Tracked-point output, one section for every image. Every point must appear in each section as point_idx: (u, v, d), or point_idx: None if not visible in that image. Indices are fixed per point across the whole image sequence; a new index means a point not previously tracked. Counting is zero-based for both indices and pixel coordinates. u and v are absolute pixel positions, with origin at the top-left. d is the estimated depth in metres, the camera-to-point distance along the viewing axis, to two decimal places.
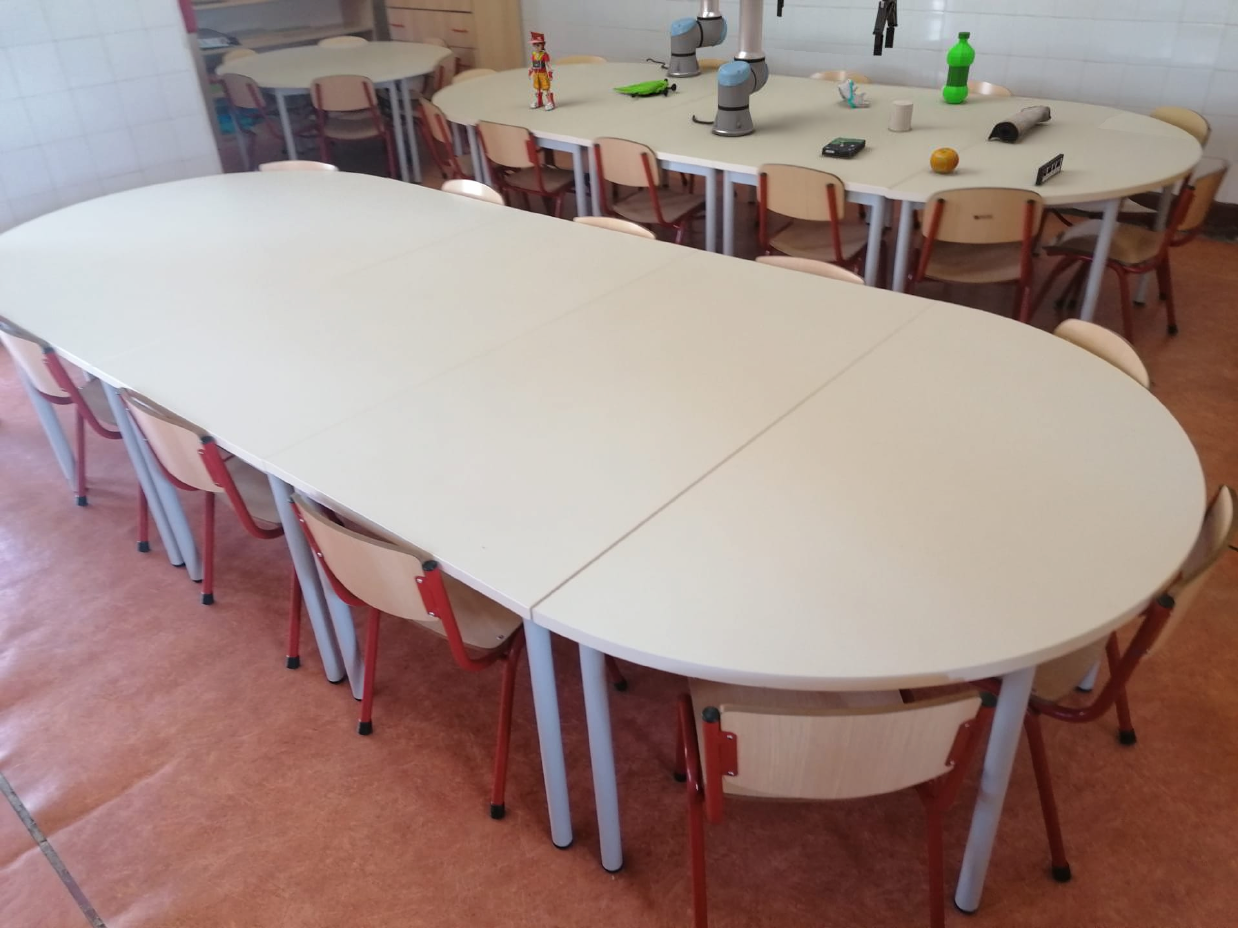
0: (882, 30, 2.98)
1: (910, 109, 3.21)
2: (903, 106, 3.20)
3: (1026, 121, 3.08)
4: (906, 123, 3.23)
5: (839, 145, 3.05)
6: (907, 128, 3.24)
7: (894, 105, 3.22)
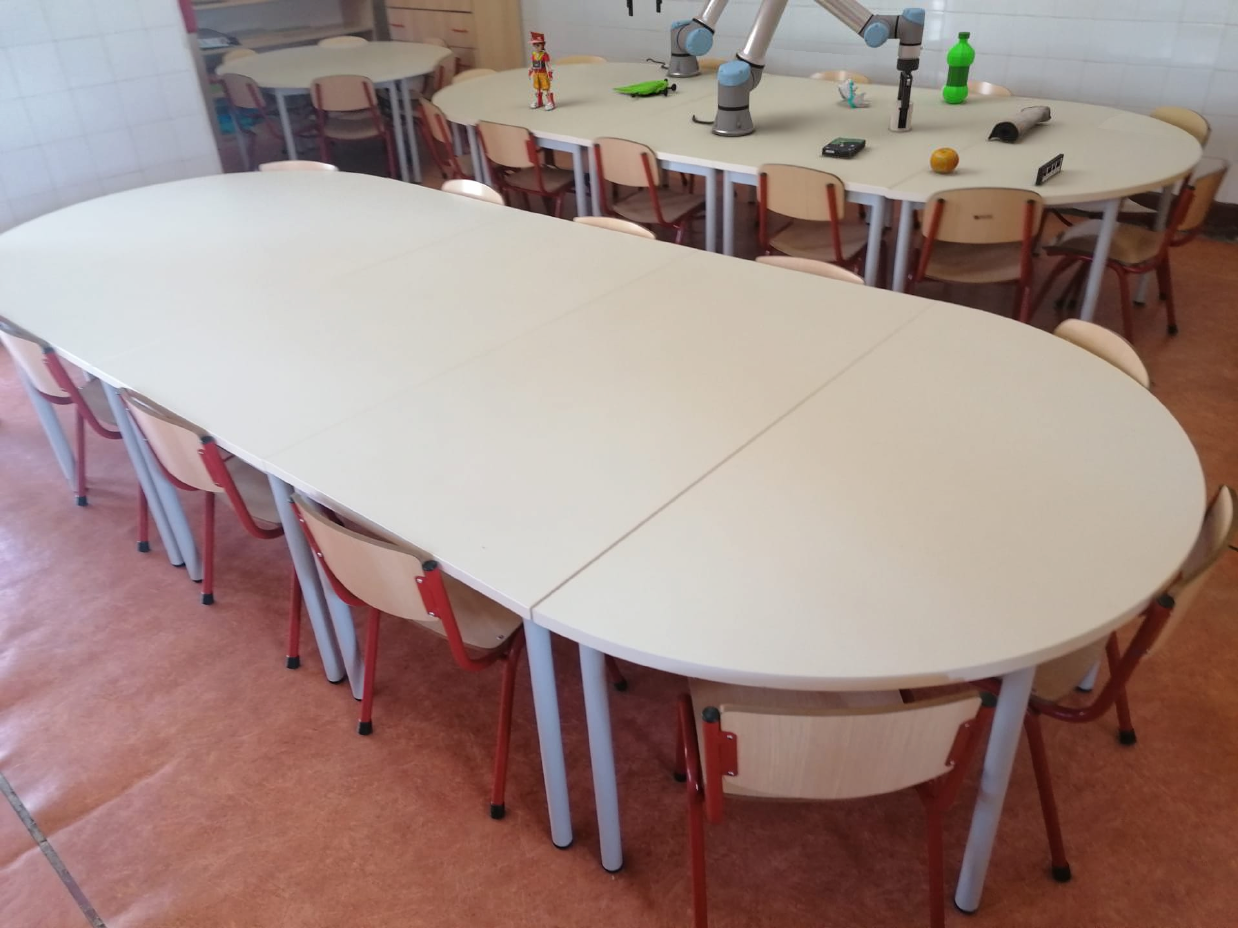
0: None
1: (910, 109, 3.21)
2: None
3: (1026, 121, 3.08)
4: (906, 123, 3.23)
5: (839, 145, 3.05)
6: (907, 128, 3.24)
7: (894, 105, 3.22)
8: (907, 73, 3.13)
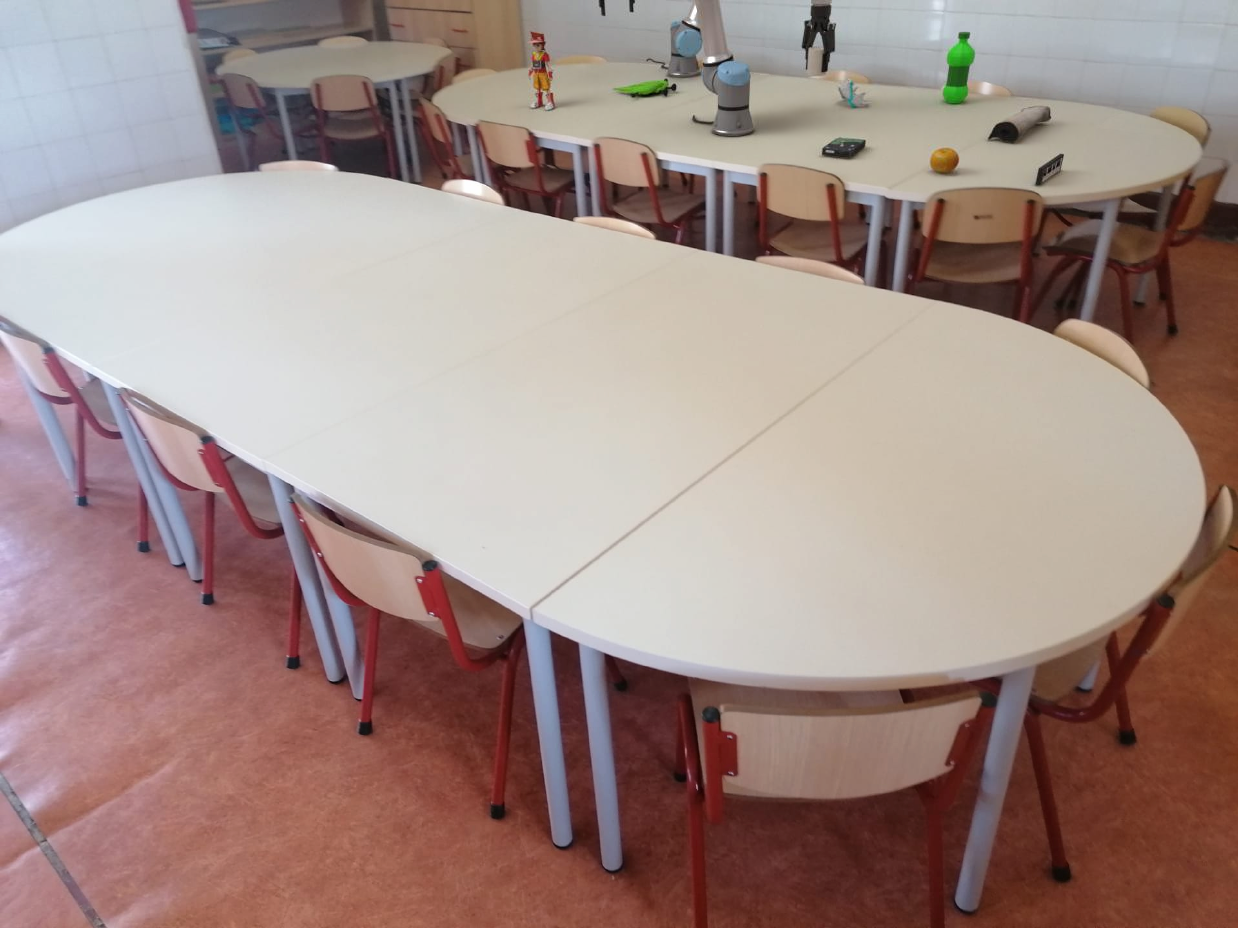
0: None
1: None
2: None
3: (1026, 121, 3.08)
4: None
5: (839, 145, 3.05)
6: None
7: (815, 51, 3.39)
8: (827, 18, 3.32)
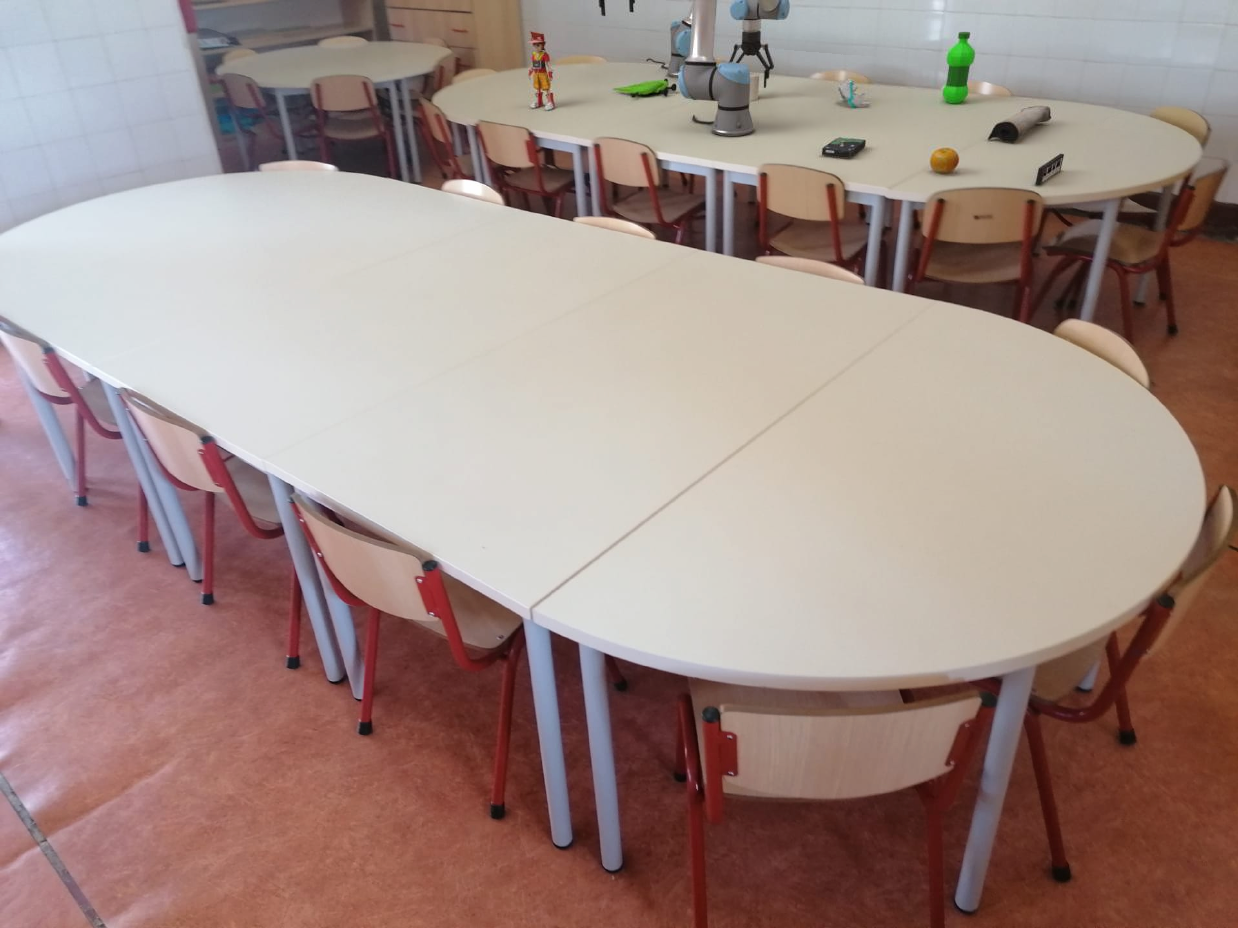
0: (768, 66, 3.69)
1: None
2: (758, 76, 3.71)
3: (1026, 121, 3.08)
4: None
5: (839, 145, 3.05)
6: None
7: (753, 78, 3.69)
8: (760, 42, 3.64)
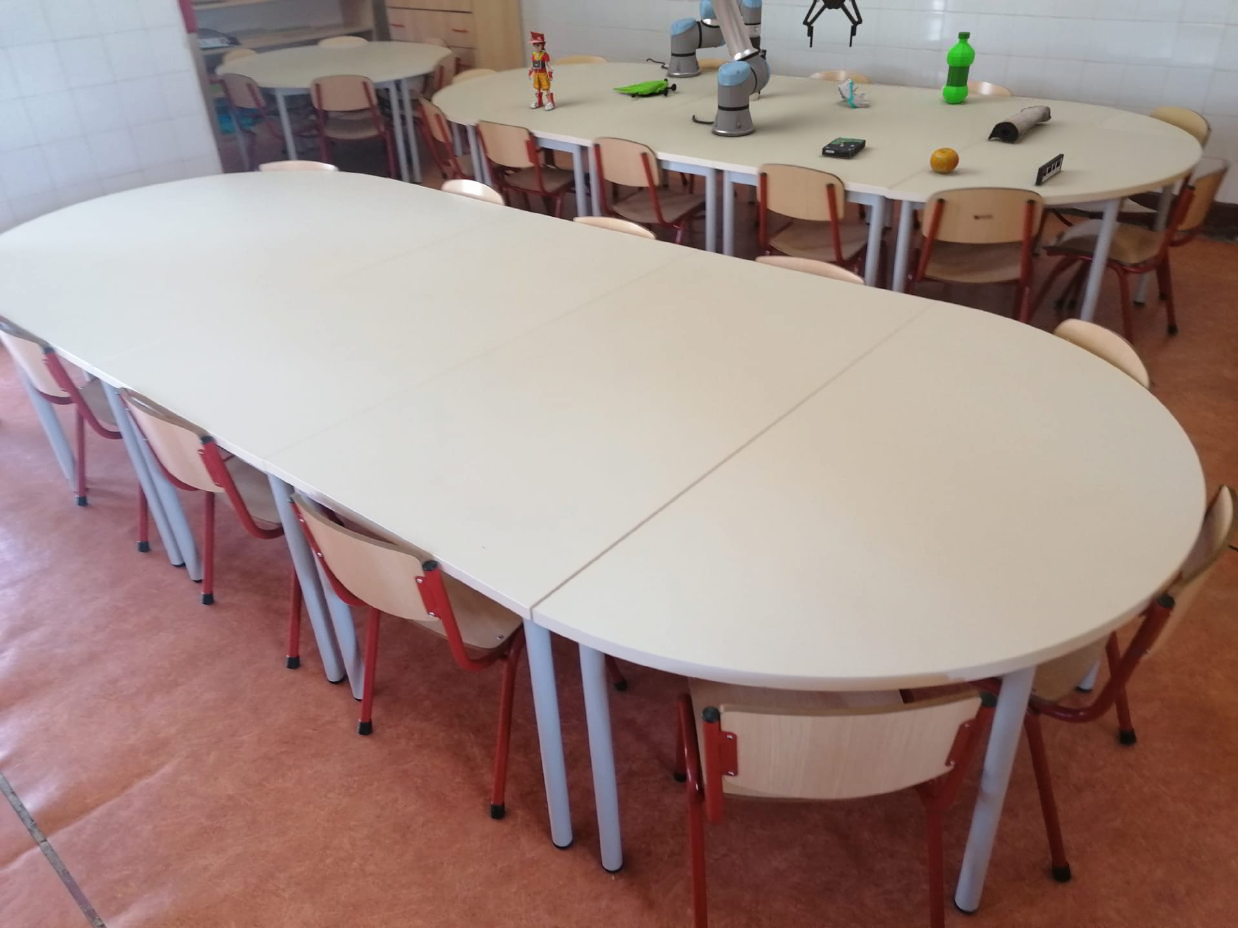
0: (855, 20, 3.09)
1: None
2: None
3: (1026, 121, 3.08)
4: None
5: (839, 145, 3.05)
6: None
7: None
8: None
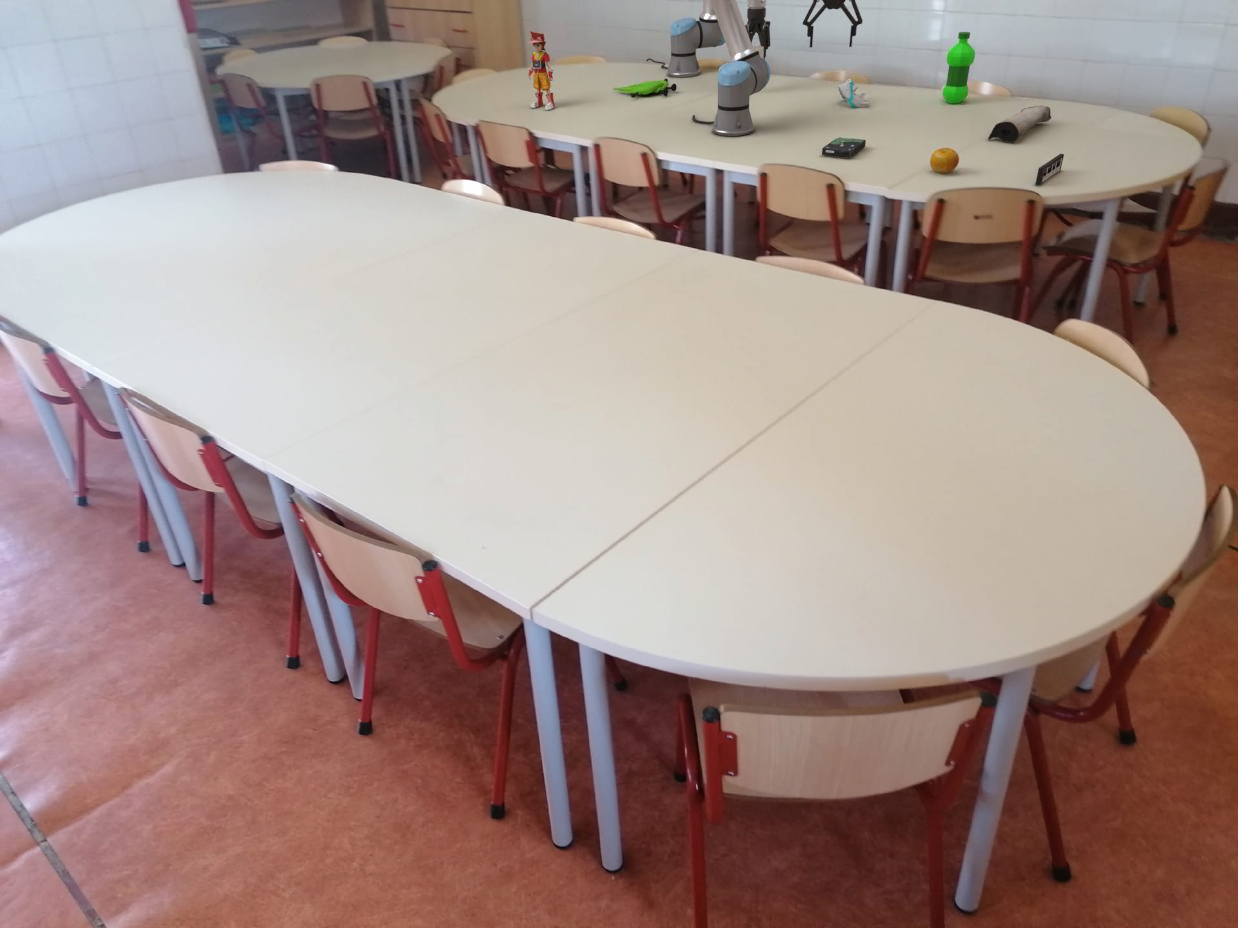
0: (855, 20, 3.09)
1: None
2: (763, 48, 3.75)
3: (1026, 121, 3.08)
4: None
5: (839, 145, 3.05)
6: None
7: (759, 50, 3.72)
8: None
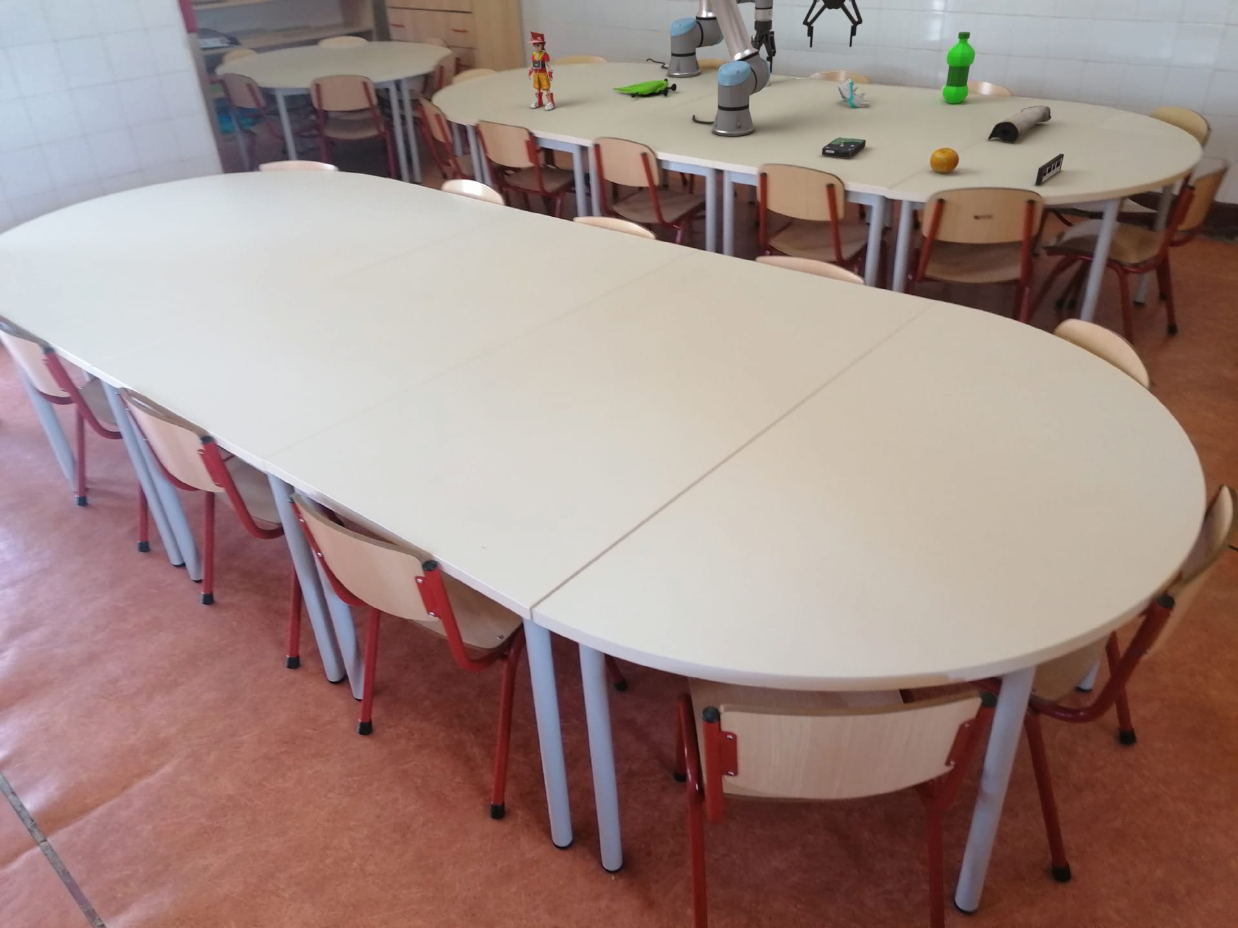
0: (855, 20, 3.09)
1: None
2: None
3: (1026, 121, 3.08)
4: None
5: (839, 145, 3.05)
6: None
7: None
8: None
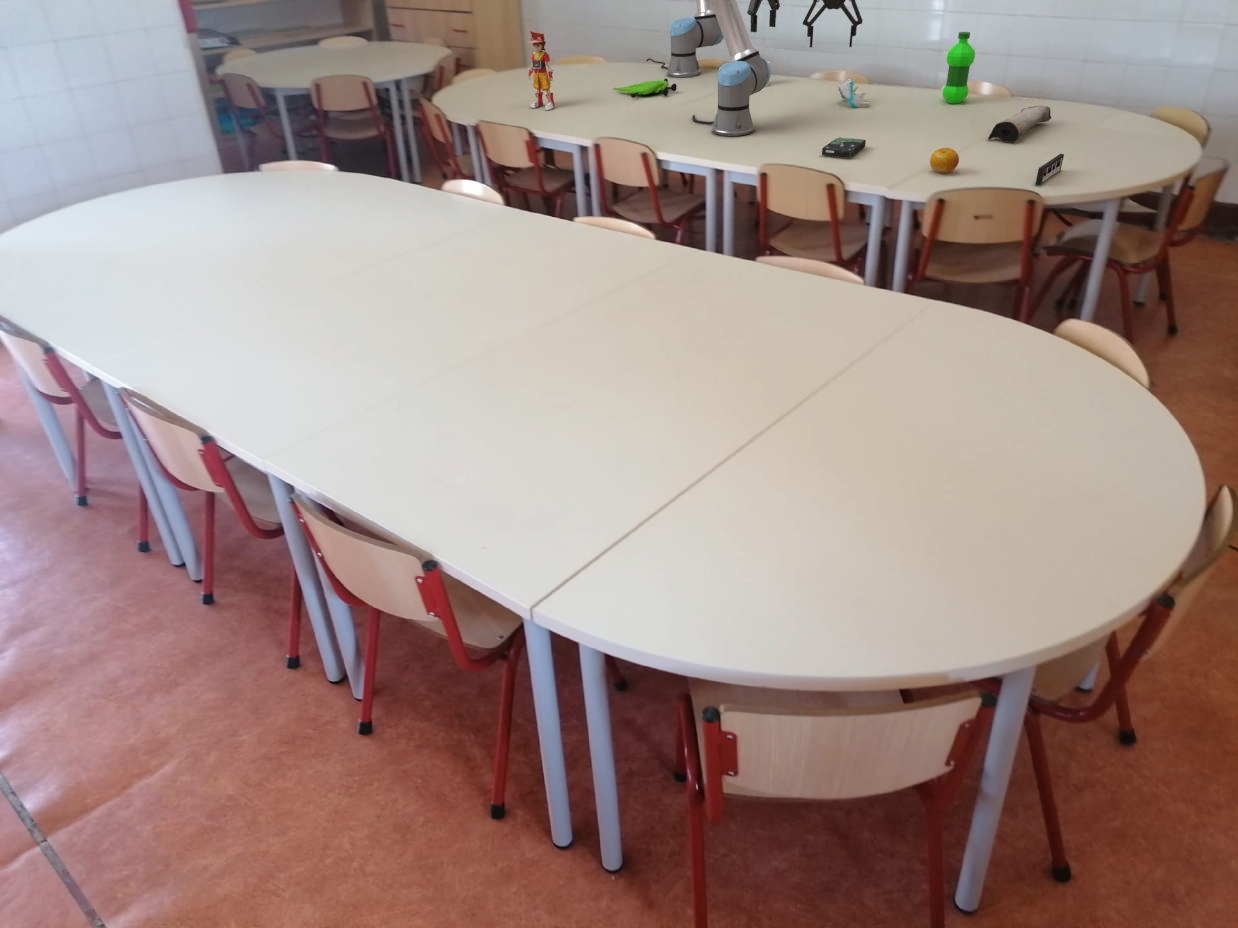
0: (855, 20, 3.09)
1: None
2: None
3: (1026, 121, 3.08)
4: None
5: (839, 145, 3.05)
6: None
7: None
8: None
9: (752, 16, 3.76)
